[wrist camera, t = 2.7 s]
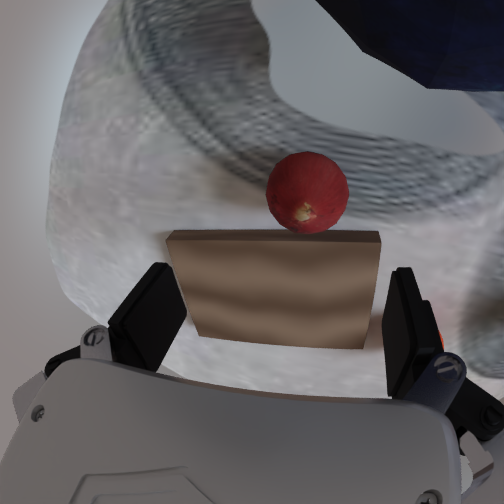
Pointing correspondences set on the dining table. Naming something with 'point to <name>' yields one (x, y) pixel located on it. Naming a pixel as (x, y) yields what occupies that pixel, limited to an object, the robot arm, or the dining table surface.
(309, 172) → the onion
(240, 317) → the board
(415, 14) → the decorative orb
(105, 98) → the dining table surface
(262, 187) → the dining table surface
